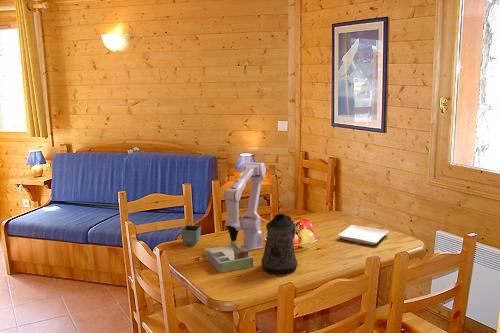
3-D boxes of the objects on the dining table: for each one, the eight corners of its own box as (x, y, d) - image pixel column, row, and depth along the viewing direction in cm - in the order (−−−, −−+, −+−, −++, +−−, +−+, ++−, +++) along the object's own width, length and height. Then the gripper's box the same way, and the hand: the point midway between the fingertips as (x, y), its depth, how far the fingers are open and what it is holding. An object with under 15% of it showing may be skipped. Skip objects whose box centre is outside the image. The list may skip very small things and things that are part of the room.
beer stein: (259, 275, 217) (258, 221, 212) (264, 258, 235) (263, 208, 230) (296, 276, 214) (296, 222, 209) (298, 259, 233) (298, 209, 228)
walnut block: (244, 257, 230) (243, 247, 229) (248, 261, 226) (248, 251, 225) (234, 259, 228) (234, 249, 227) (238, 263, 224) (238, 252, 223)
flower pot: (197, 247, 251) (196, 231, 249) (180, 246, 253) (180, 230, 251) (202, 241, 260) (201, 225, 258) (186, 240, 261) (185, 224, 260)
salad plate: (389, 236, 264) (389, 230, 263) (376, 248, 247) (376, 242, 246) (351, 229, 275) (351, 224, 275) (337, 241, 258) (337, 235, 257)
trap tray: (233, 248, 249) (232, 240, 248) (253, 266, 226) (252, 257, 225) (202, 254, 242) (202, 245, 241) (219, 272, 219) (219, 263, 219)
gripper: (219, 210, 235) (220, 237, 238) (230, 218, 222) (231, 246, 225) (233, 208, 238) (233, 235, 241) (244, 216, 225) (245, 244, 228)
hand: (233, 240), depth 233 cm, fingers closed
